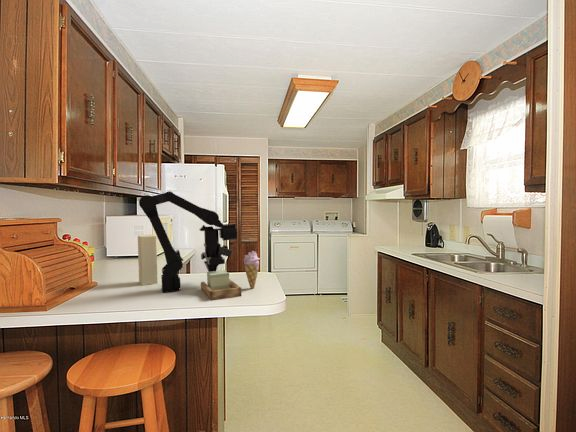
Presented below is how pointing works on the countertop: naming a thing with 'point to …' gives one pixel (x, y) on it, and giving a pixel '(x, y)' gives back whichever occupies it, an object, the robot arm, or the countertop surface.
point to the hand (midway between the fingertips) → (213, 278)
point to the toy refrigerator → (147, 259)
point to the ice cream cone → (251, 267)
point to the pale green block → (218, 280)
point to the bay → (221, 291)
